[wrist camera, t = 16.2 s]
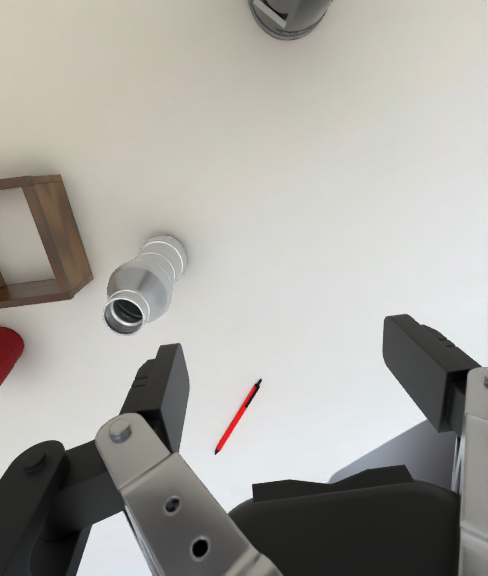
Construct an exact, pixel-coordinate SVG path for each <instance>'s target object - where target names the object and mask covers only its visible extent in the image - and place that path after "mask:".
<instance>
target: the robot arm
mask: <svg viewBox="0 0 488 576" xmlns="http://www.w3.org/2000/svg"><path fill="white" fill-rule="evenodd" d="M248 1H249V5H250V8H251V11H252V14H253V16H254V18H255V19H256V21H257V23H258V24H259V25H260V26H261V28H262V29H263V30H264V31H266V32H267V33H268V34H270V35H271V36H273V37H275V38H278V39H283V40H293V39H298V38H300V37H303V36H305V35H306V34H308V33H309V32H311V31H312V30H313V29H314V28H315V27H316V26H317V25H318V24H319V22H320V21H321V19H322V18H323V16H324V15H325V13H326V11H327V9H328V7H329V5H330V4H331V2H332V1H333V0H248ZM383 358H384V361H385V364H386V366H387V367H388V368H389V370H390V371H391V372H392V374H393V375H394V376H395V378H396V379H397V380H398V381H399V383H400V384H401V385H402V387H403V388H404V389H405V390H406V392H407V393H408V394H409V396H410V397H411V398H412V399H413V401H414V402H415V403H416V405H417V406H418V407H419V408H420V410H421V411H422V412H423V414H424V415H425V416H426V417H427V419H428V420H429V421H430V423H431V424H432V425H433V426H434V428H435V429H436V430H437V432H438V433H440V432H447V431H454V432H455V433H456V434H457V439H456V446H455V456H454V467H453V478H452V488H451V490H450V489H448V488H445V487H443V486H441V485H438V484H435V483H432V482H429V481H425V480H421V479H415V478H412V476H411V475H410V473H409V471H408V469H407V468H406V466H405V465H398V466H390V467H383V468H375V469H367V470H365V471H362V472H360V473H358V474H355V475H353V476H350V477H348V478H346V479H343V480H341V481H338V482H336V483H333V484H324V483H315V482H307V481H298V480H290V479H289V480H282V481H274V482H266V483H258V484H252V489H253V498H251V499H249V500H246V501H245V502H243V503H241V504H239V505H238V506H236V507H235V508H234V509H232V510H231V511H230V512H229V513H228V514H227V513H226V512H225V511H224V509H223V508H222V507H221V506H220V504H219V503H218V502H217V500H216V499H215V498H214V497H213V495H212V494H211V493H210V492H209V490H208V489H207V488H206V487H205V485H204V484H203V483H202V482H201V480H200V479H199V478H198V477H197V475H196V474H195V473H194V472H193V470H192V469H191V468H190V467H189V465H188V464H187V463H186V462H185V460H184V459H183V458H182V457H181V455H180V454H179V448H180V442H181V437H182V431H183V425H184V419H185V413H186V408H187V402H188V396H189V376H188V371H187V367H186V363H185V358H184V354H183V350H182V346H181V344H180V343H176V344H168V345H161V346H160V347H159V350H158V353H157V355H156V358H155V359H151V360H147V361H146V362H145V363H144V364H143V365H142V366H141V367H140V368H139V370H138V372H137V375H136V377H135V380H134V381H133V384H132V386H131V388H130V391H129V393H128V395H127V397H126V400H125V402H124V404H123V407H122V409H121V411H120V414H119V415H118V416H116V417H114V418H112V419H111V420H109V421H108V422H106V423H105V424H104V425H103V426H102V427H101V428H100V429H99V431H98V432H97V434H96V437H95V440H93V441H90V442H88V443H85V444H82V445H80V446H77V447H74V448H72V449H69V450H66V451H65V448H64V446H63V444H62V443H61V442H59V441H56V440H50V441H45V442H41V443H38V444H36V445H34V446H32V447H30V448H29V449H27V450H25V451H24V452H23V453H21V454H20V455H19V456H18V457H17V458H16V459H15V460H14V461H13V462H12V463H11V464H10V466H9V467H8V469H7V470H6V472H5V473H4V475H3V476H2V478H1V479H0V576H76V574H77V571H78V568H79V564H80V561H81V558H82V555H83V552H84V549H85V546H86V543H87V540H88V537H89V534H90V530H91V527H92V524H95V523H97V522H99V521H101V520H103V519H106V518H108V517H110V516H112V515H114V514H117V513H119V512H121V511H123V513H124V515H125V517H126V519H127V522H128V524H129V526H130V528H131V530H132V532H133V534H134V536H135V539H136V541H137V543H138V545H139V547H140V549H141V551H142V553H143V556H144V558H145V560H146V562H147V564H148V566H149V569H150V571H151V573H152V576H488V367H482V366H481V365H479V364H478V363H477V362H476V361H474V360H473V359H472V358H471V357H469V356H468V355H467V354H466V353H464V352H463V351H462V350H461V349H459V348H458V347H455V345H454V344H453V343H452V342H451V341H450V340H447V338H446V337H445V336H443V335H442V334H441V333H440V332H438V331H437V330H435V329H432V328H430V327H428V326H426V325H420V324H419V323H418V322H416V321H415V320H414V319H413V318H412V317H411V316H409V315H408V314H401V315H394V316H387V317H385V319H384V330H383Z"/></svg>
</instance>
